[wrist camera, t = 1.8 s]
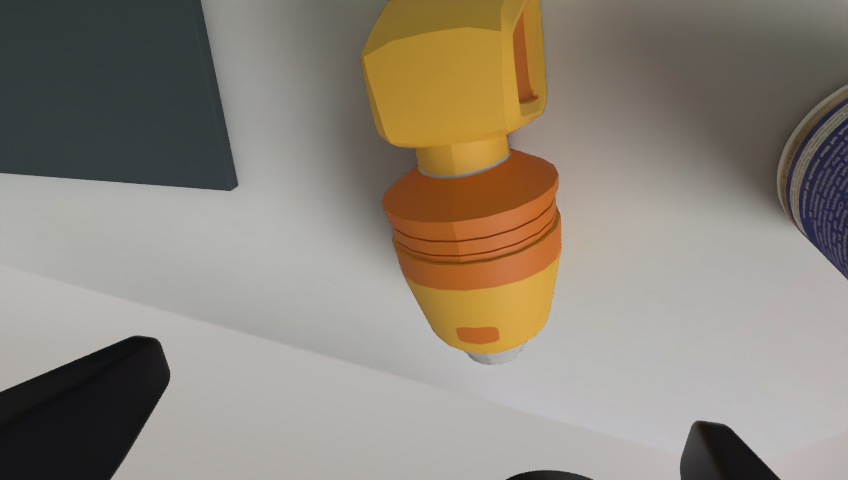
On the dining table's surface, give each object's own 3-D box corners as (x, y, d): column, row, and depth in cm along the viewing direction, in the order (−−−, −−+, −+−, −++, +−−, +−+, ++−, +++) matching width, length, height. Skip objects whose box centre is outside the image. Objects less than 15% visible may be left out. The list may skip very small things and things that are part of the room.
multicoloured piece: (569, 300, 20) (543, -40, 14) (575, 405, 15) (538, -42, 10) (438, 304, 21) (371, -2, 16) (405, 401, 17) (295, 12, 11)
